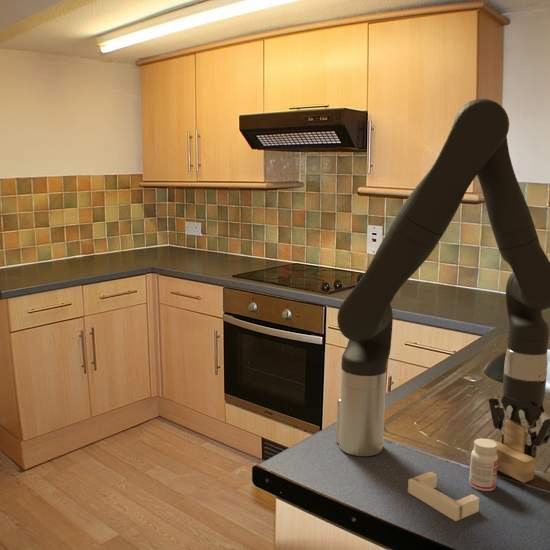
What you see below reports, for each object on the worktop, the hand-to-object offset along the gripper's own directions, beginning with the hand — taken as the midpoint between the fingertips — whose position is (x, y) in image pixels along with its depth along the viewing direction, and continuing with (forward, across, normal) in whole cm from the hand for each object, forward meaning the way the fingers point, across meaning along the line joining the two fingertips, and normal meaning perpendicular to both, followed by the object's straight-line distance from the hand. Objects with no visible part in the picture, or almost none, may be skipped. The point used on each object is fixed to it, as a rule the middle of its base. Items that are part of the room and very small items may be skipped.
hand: (517, 456), depth 118 cm
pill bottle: (+3, 0, -10) cm, 11 cm away
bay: (+3, 0, -21) cm, 21 cm away
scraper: (+2, 0, -2) cm, 2 cm away
